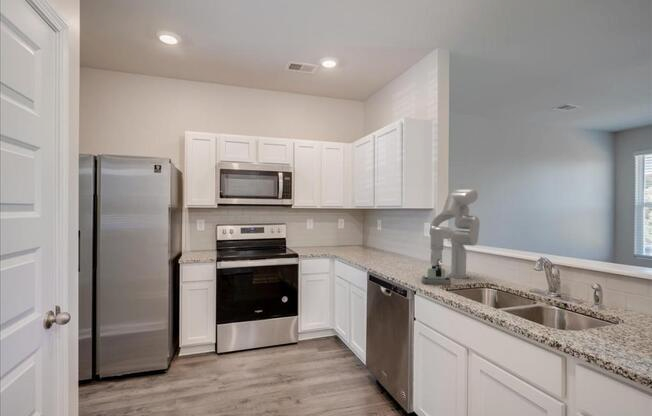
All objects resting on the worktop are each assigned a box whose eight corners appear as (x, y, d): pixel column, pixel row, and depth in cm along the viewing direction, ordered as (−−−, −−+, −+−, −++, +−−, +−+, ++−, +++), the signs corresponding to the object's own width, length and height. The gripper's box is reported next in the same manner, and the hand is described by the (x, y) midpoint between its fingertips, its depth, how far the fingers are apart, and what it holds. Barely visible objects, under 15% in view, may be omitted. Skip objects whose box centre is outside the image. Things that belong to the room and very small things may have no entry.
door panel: (427, 280, 205) (427, 268, 205) (443, 281, 204) (443, 268, 204) (428, 282, 202) (428, 269, 202) (445, 282, 201) (445, 269, 201)
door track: (421, 281, 207) (422, 275, 207) (447, 282, 206) (447, 276, 206) (424, 284, 200) (424, 277, 200) (451, 285, 199) (451, 278, 199)
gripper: (427, 245, 211) (427, 271, 212) (434, 249, 194) (433, 277, 194) (439, 245, 211) (438, 272, 211) (447, 249, 194) (446, 278, 194)
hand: (436, 274), depth 203 cm, fingers open, 9 cm apart
